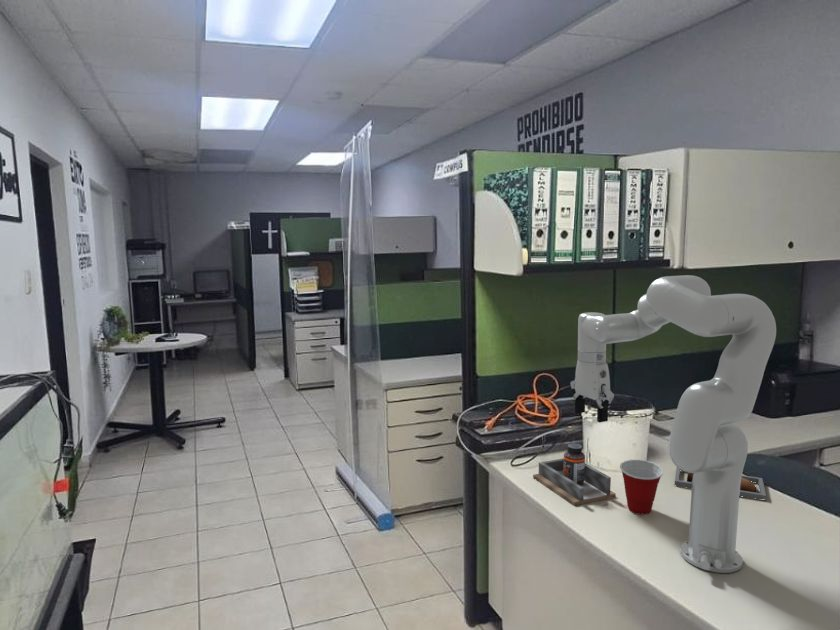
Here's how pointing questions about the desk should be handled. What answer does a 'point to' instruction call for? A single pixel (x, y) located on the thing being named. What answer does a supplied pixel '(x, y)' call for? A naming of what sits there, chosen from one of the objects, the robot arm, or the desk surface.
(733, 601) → the desk surface
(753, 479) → the desk tray frame
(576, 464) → the supplement bottle
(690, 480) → the sunglasses case
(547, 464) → the board
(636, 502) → the plastic cup
